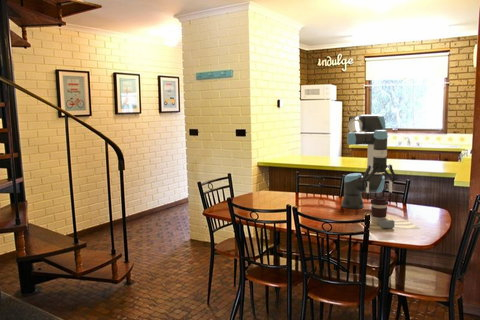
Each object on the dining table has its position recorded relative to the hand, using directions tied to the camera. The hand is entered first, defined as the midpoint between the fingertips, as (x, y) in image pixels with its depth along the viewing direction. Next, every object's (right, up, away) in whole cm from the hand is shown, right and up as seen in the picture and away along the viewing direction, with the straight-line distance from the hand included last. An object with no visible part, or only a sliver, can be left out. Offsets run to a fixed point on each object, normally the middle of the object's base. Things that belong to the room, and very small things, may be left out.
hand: (378, 192), depth 235 cm
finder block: (+1, -20, -8) cm, 21 cm away
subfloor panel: (+5, -20, -2) cm, 21 cm away
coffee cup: (+1, -19, +2) cm, 19 cm away
